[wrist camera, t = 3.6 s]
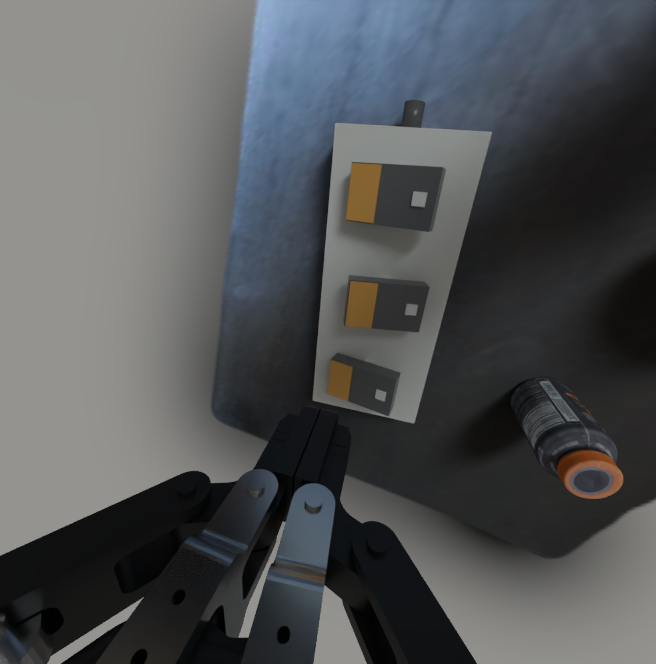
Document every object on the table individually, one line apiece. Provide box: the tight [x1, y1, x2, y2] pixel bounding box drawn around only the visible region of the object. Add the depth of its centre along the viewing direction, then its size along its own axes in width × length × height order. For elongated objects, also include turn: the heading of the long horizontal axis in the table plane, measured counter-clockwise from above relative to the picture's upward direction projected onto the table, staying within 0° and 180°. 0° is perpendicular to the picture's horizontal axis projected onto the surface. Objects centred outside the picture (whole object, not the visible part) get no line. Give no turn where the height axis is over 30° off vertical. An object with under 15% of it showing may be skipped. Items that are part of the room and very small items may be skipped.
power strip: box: [313, 100, 492, 423], centre depth 31 cm, size 12×30×4 cm, turn 175°
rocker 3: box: [327, 353, 401, 416], centre depth 32 cm, size 7×4×2 cm, turn 85°
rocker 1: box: [346, 162, 446, 232], centre depth 24 cm, size 7×4×2 cm, turn 85°
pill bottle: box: [511, 378, 623, 499], centre depth 29 cm, size 6×6×11 cm
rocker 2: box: [343, 275, 430, 332], centre depth 28 cm, size 7×4×2 cm, turn 85°
